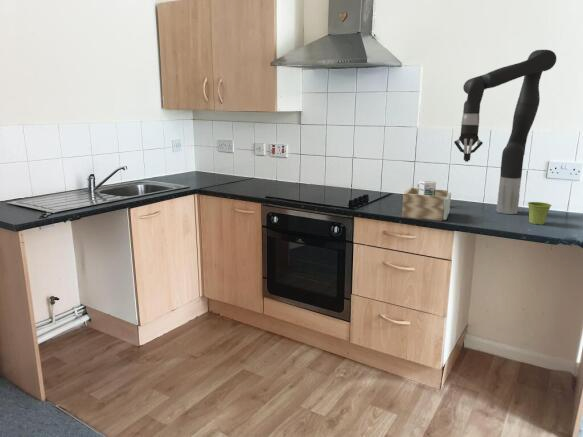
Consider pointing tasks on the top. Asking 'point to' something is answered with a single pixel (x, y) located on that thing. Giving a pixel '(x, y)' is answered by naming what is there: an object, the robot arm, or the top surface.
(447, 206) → the drawer
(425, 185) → the syrup box
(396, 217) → the top surface
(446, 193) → the caddy
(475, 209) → the top surface
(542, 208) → the plant pot
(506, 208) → the robot arm
